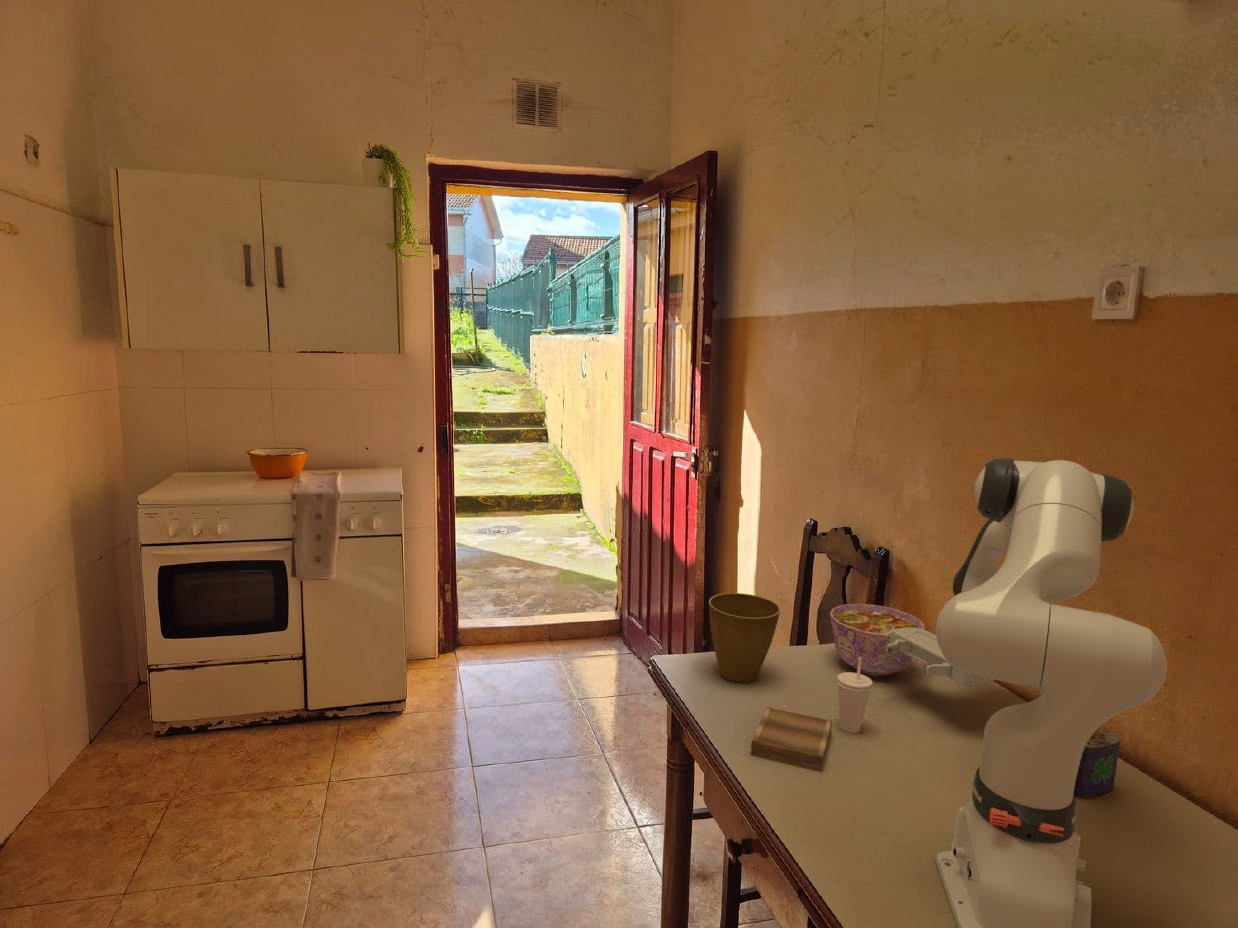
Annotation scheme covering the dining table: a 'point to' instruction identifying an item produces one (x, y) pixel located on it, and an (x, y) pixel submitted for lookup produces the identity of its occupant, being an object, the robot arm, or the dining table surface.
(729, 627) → the plant pot
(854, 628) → the bowl of food
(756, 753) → the board
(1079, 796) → the flask
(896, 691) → the dining table surface
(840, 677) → the smoothie
